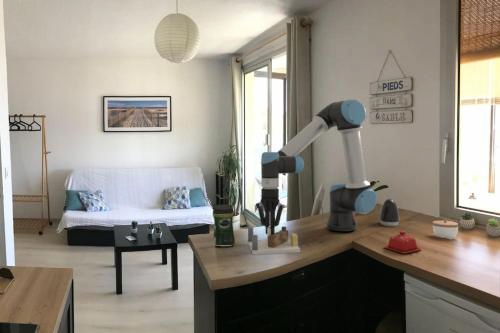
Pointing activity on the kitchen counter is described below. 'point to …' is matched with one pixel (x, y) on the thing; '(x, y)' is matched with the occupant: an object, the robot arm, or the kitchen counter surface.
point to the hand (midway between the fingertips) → (270, 241)
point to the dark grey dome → (389, 213)
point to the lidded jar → (445, 229)
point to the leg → (278, 238)
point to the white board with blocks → (263, 248)
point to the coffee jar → (223, 225)
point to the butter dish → (402, 243)
